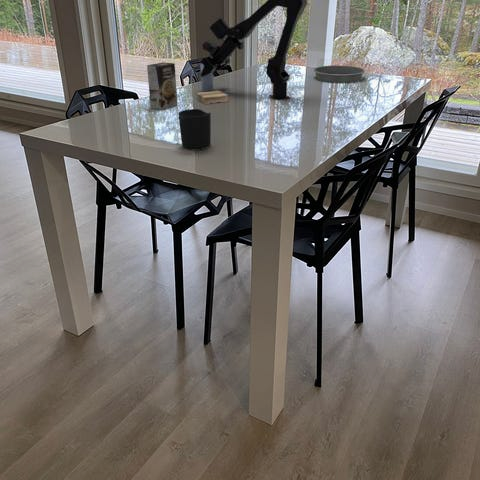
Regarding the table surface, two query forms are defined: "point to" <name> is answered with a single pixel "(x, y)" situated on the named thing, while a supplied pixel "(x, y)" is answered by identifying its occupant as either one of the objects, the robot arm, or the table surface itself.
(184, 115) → the pen holder
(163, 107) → the coffee box
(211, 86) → the canister
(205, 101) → the oak base block
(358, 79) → the cake pan
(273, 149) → the table surface
